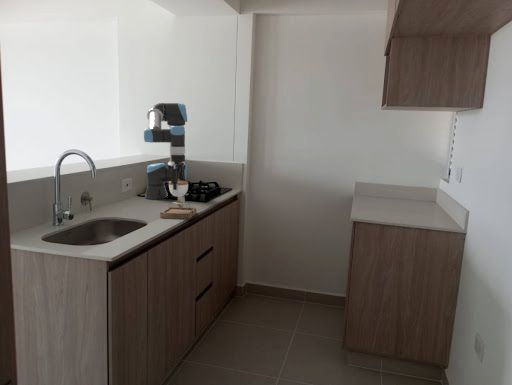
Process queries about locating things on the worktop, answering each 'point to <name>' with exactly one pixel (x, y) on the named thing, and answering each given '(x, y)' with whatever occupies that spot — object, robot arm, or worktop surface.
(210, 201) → the worktop surface
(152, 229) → the worktop surface
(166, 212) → the wooden tray
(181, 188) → the lidded jar
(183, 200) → the architectural model
